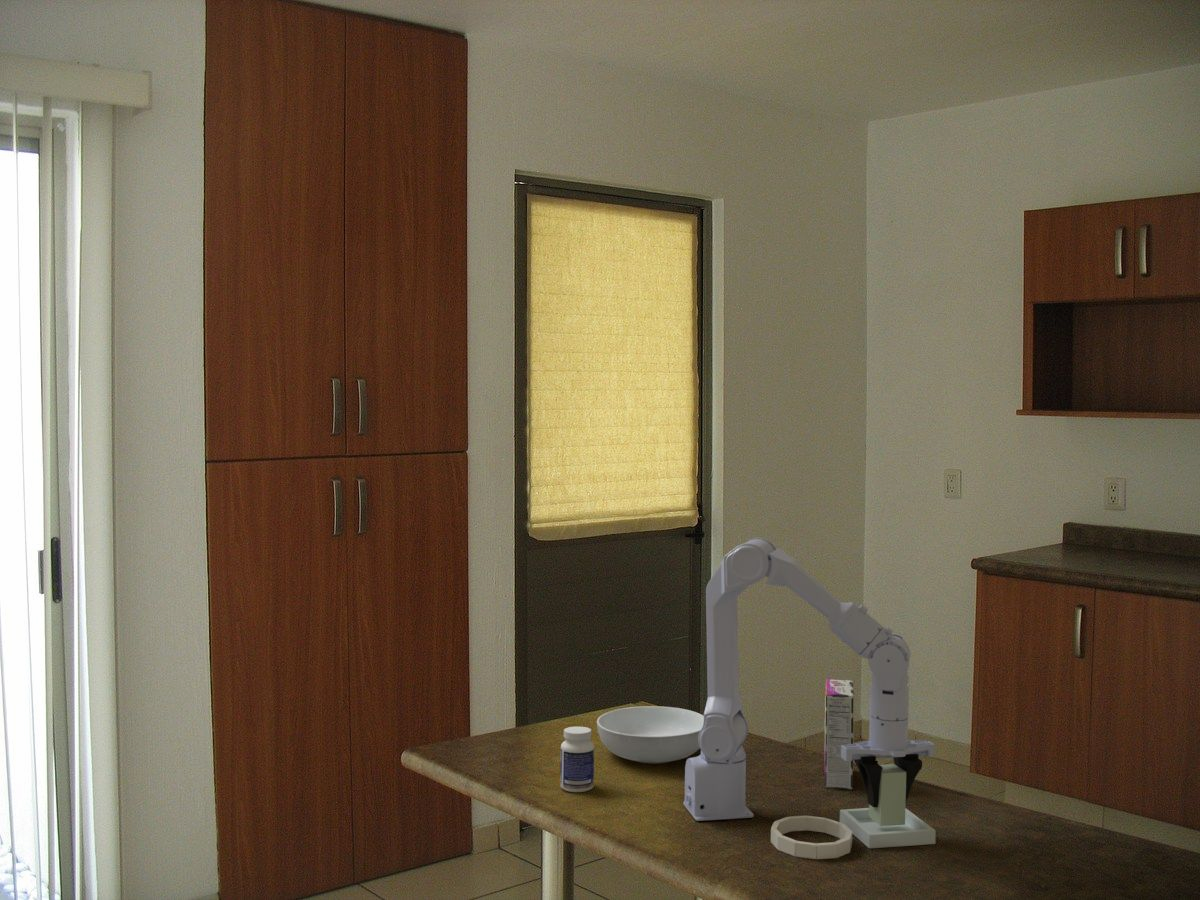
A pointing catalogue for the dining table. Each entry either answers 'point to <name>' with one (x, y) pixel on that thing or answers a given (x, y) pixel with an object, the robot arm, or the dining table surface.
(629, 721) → the serving bowl
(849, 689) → the candy bar box
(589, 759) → the pill bottle
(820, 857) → the collar
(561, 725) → the dining table surface
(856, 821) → the tray
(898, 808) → the peg
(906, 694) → the robot arm
